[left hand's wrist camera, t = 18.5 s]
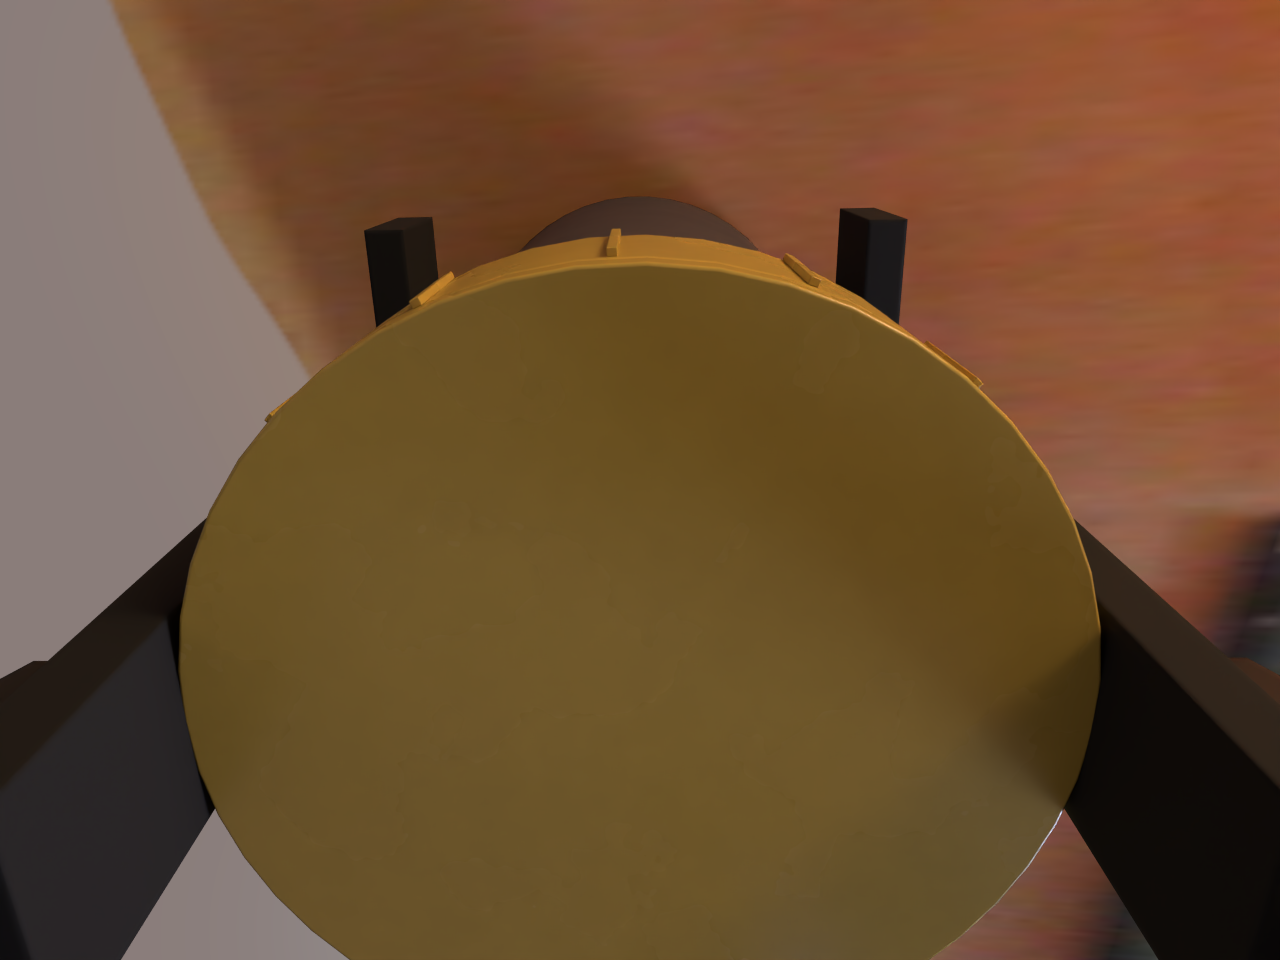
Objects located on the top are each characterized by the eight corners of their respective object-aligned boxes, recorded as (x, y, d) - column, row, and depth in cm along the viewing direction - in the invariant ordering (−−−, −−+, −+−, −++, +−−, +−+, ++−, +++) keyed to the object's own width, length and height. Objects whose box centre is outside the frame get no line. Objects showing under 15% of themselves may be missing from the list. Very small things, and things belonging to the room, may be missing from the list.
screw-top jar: (681, 552, 29) (731, 1063, 13) (428, 402, 27) (134, 783, 11) (858, 313, 26) (1192, 595, 10) (590, 128, 24) (499, 127, 9)
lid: (969, 132, 10) (1063, 133, 8) (1050, 832, 14) (1129, 969, 12) (129, 353, 11) (2, 410, 9) (411, 957, 15) (369, 1105, 12)
